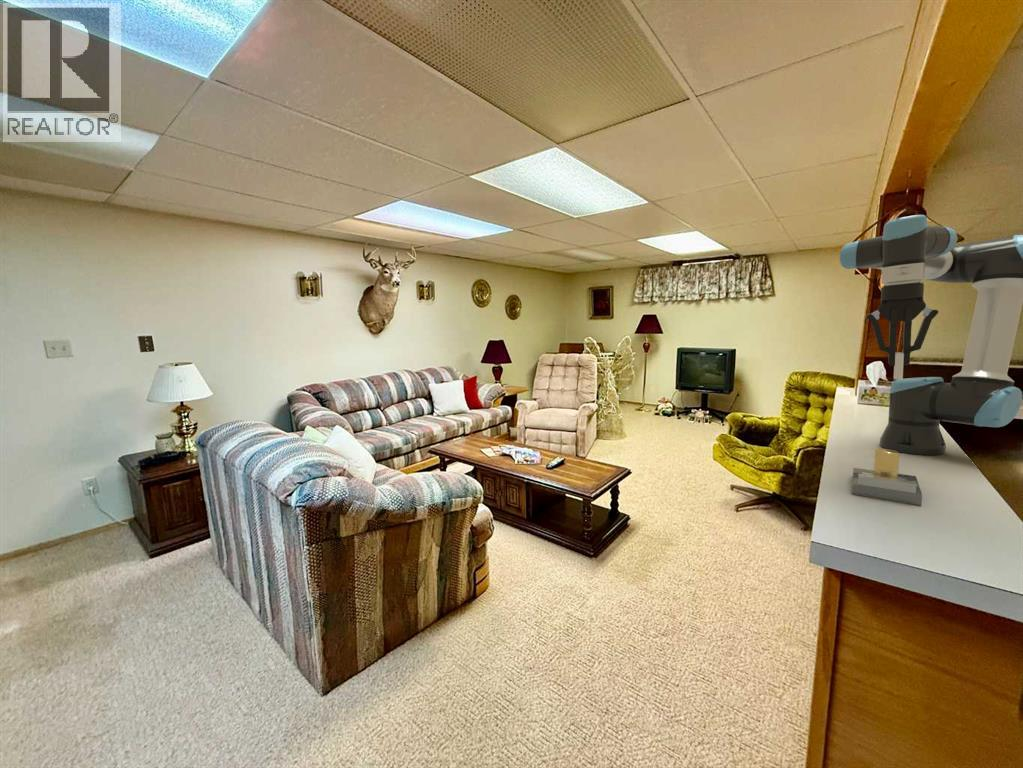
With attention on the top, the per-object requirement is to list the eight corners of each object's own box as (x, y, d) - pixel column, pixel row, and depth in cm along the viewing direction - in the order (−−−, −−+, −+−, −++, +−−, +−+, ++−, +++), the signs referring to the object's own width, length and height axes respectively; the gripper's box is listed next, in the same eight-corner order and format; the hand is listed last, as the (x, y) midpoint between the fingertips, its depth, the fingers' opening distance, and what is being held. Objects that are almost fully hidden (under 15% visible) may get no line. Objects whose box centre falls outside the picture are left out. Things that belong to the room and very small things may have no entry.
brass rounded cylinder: (868, 486, 102) (870, 448, 101) (887, 486, 102) (890, 448, 100) (880, 493, 98) (883, 453, 97) (901, 493, 97) (904, 454, 96)
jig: (852, 476, 109) (853, 459, 109) (915, 485, 101) (916, 467, 101) (852, 494, 99) (853, 475, 98) (921, 505, 91) (922, 485, 90)
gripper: (866, 286, 99) (864, 380, 102) (943, 278, 91) (937, 381, 94) (866, 287, 105) (863, 376, 108) (938, 280, 96) (933, 376, 100)
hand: (898, 378), depth 101 cm, fingers closed
